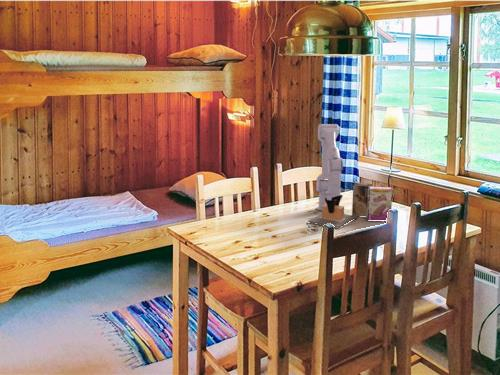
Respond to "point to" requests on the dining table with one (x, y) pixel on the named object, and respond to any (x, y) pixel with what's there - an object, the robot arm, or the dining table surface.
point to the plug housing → (336, 215)
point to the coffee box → (360, 199)
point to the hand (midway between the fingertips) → (333, 211)
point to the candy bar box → (379, 202)
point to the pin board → (336, 223)
